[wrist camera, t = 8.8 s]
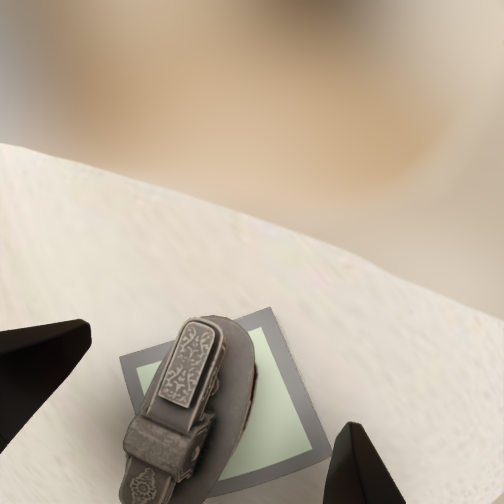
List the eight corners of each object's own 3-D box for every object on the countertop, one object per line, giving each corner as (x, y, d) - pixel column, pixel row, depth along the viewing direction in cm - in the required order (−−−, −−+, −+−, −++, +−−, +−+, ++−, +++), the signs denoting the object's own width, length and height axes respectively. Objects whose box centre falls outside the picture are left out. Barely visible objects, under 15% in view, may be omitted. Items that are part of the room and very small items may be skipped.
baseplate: (326, 449, 15) (334, 455, 13) (180, 495, 14) (171, 505, 12) (268, 315, 20) (270, 306, 18) (131, 361, 18) (118, 356, 16)
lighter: (224, 484, 13) (178, 569, 4) (168, 462, 13) (70, 512, 4) (270, 360, 16) (279, 310, 7) (214, 342, 17) (159, 272, 8)
